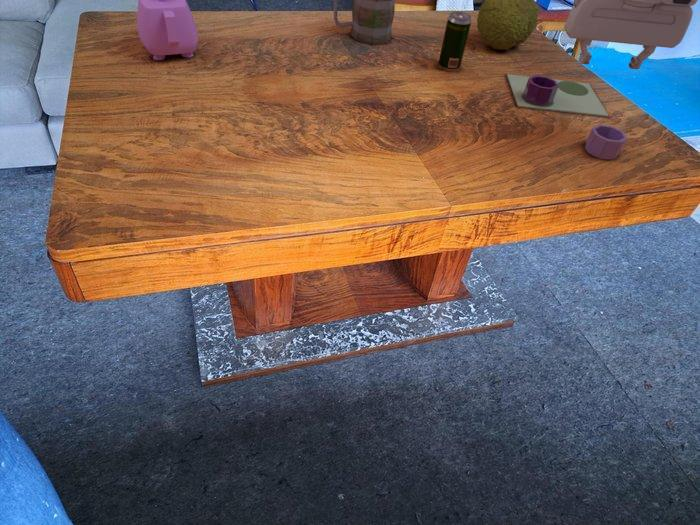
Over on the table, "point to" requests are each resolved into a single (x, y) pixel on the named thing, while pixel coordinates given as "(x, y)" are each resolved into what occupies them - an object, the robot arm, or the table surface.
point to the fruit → (506, 22)
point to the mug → (370, 20)
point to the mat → (561, 97)
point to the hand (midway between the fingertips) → (608, 65)
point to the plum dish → (540, 90)
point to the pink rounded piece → (166, 28)
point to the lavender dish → (605, 142)
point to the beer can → (454, 41)
